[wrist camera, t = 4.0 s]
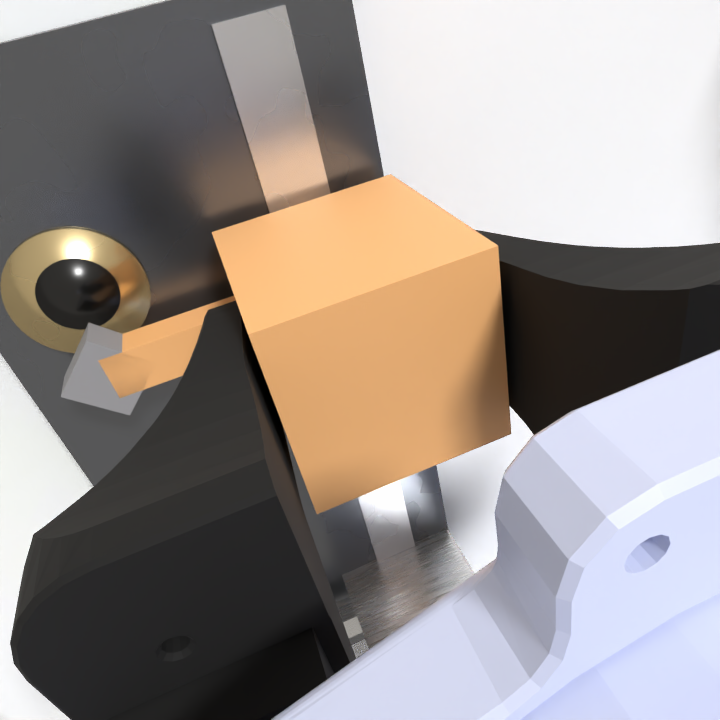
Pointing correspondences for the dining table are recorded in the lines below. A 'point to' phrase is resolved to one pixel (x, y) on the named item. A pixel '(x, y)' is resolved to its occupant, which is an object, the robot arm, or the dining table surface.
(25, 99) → the bolt plate
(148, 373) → the orange block with rod
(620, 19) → the dining table surface
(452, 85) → the dining table surface
